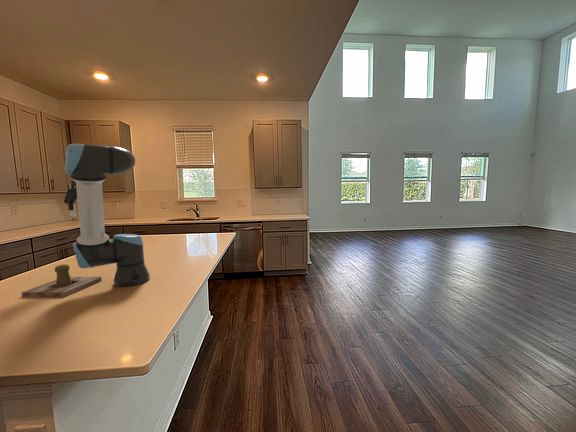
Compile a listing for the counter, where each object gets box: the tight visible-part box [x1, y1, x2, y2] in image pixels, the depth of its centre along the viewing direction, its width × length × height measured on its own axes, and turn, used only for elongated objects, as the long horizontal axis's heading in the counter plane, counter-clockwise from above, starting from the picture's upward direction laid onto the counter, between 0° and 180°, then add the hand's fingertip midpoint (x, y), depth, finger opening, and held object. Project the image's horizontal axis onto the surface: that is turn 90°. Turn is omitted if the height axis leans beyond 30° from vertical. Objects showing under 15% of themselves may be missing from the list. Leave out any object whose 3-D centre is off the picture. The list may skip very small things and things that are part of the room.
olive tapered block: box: [54, 264, 72, 288], centre depth 122 cm, size 6×6×11 cm
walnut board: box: [21, 276, 103, 298], centre depth 123 cm, size 20×20×2 cm
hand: (84, 215), depth 144 cm, fingers open, 13 cm apart
